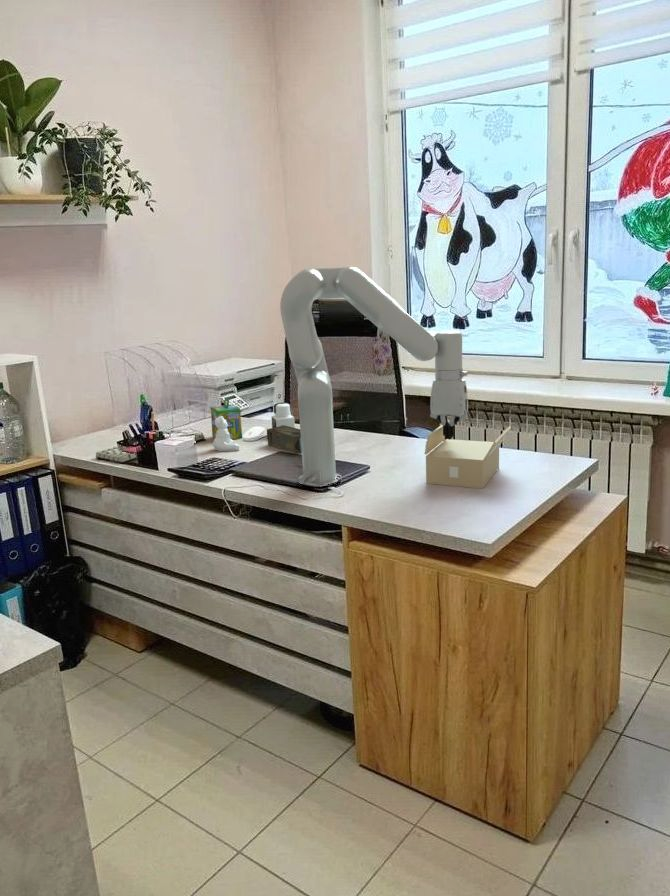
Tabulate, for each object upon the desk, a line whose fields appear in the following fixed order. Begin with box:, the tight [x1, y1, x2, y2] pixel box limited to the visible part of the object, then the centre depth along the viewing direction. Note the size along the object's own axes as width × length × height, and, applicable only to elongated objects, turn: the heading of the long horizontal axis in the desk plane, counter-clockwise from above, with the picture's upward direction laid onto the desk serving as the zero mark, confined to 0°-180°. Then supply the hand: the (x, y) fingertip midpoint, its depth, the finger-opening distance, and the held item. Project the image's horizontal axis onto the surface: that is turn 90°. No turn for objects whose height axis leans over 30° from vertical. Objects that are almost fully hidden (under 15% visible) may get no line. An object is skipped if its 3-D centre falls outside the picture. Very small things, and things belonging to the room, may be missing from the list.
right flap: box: [484, 425, 512, 460], centre depth 202 cm, size 19×6×1 cm
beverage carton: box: [266, 425, 302, 455], centre depth 250 cm, size 8×19×7 cm, turn 41°
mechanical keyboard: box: [95, 429, 208, 464], centre depth 258 cm, size 38×19×3 cm, turn 145°
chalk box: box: [210, 397, 243, 440], centre depth 268 cm, size 9×9×15 cm
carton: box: [425, 438, 500, 489], centre depth 208 cm, size 20×16×8 cm
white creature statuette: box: [212, 416, 240, 452], centre depth 251 cm, size 10×9×12 cm
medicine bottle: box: [271, 402, 296, 428], centre depth 268 cm, size 7×7×12 cm
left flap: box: [424, 419, 450, 456], centre depth 210 cm, size 19×6×1 cm
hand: (448, 438), depth 208 cm, fingers closed
